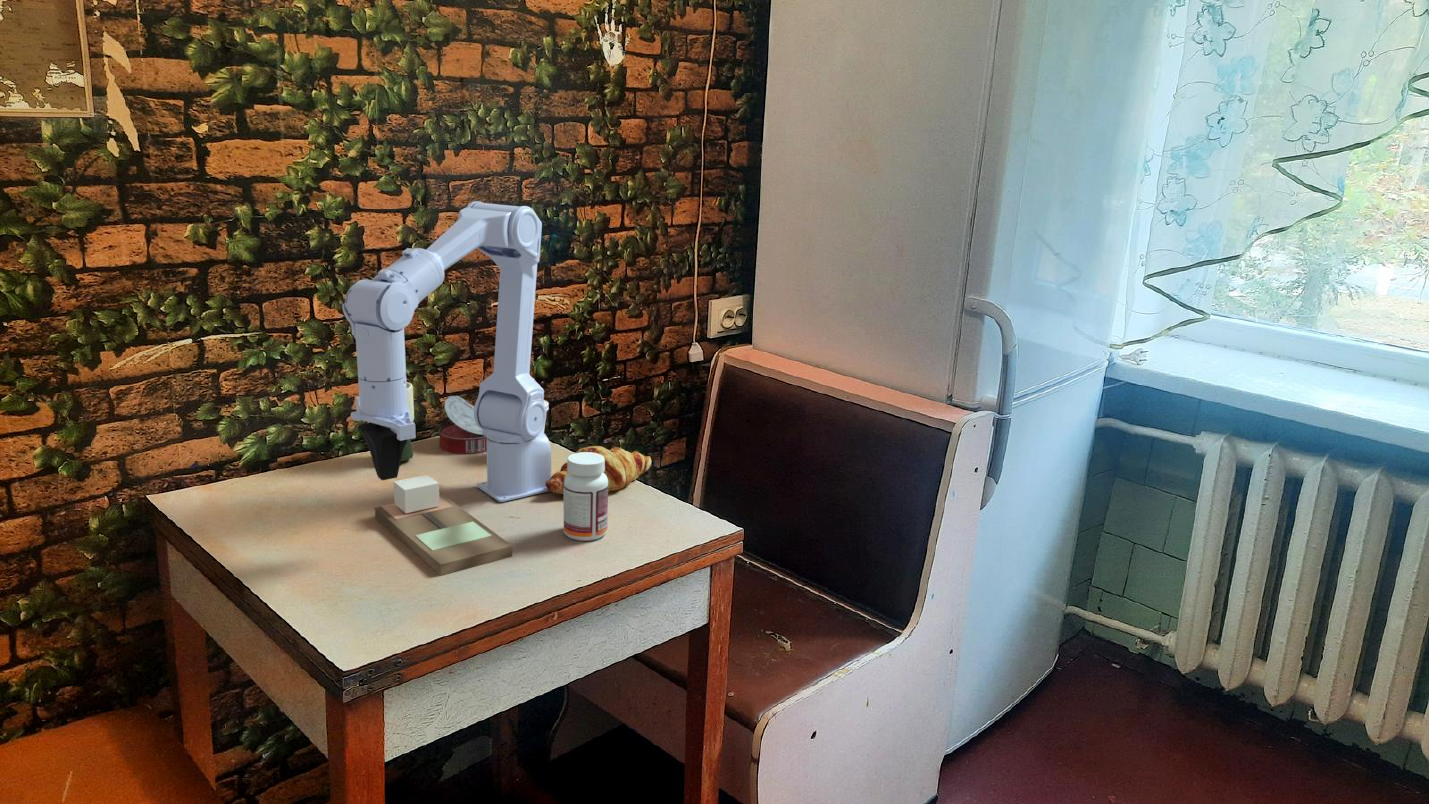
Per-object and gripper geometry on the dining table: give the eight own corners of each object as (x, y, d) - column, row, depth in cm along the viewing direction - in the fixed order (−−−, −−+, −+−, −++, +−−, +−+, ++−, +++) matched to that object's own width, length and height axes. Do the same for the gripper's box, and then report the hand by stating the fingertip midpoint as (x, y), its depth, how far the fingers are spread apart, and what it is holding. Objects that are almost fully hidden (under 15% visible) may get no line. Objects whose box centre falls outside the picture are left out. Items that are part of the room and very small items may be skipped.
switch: (441, 502, 142) (441, 492, 141) (512, 556, 125) (512, 545, 125) (375, 517, 135) (374, 506, 135) (440, 575, 119) (440, 563, 119)
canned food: (472, 460, 173) (492, 409, 174) (498, 470, 166) (518, 417, 167) (417, 441, 166) (438, 388, 167) (441, 451, 158) (463, 396, 159)
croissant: (636, 484, 162) (623, 440, 163) (675, 472, 155) (661, 426, 156) (537, 514, 147) (523, 464, 148) (574, 502, 140) (559, 450, 141)
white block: (427, 497, 139) (427, 474, 138) (439, 505, 136) (438, 483, 135) (394, 504, 136) (393, 481, 135) (405, 513, 133) (404, 490, 132)
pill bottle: (598, 522, 138) (600, 448, 135) (613, 538, 132) (615, 462, 129) (557, 527, 135) (558, 453, 132) (571, 545, 130) (571, 467, 127)
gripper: (329, 367, 121) (336, 466, 125) (372, 394, 111) (378, 501, 115) (383, 360, 126) (388, 456, 130) (429, 386, 115) (433, 490, 119)
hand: (387, 477), depth 123 cm, fingers closed
